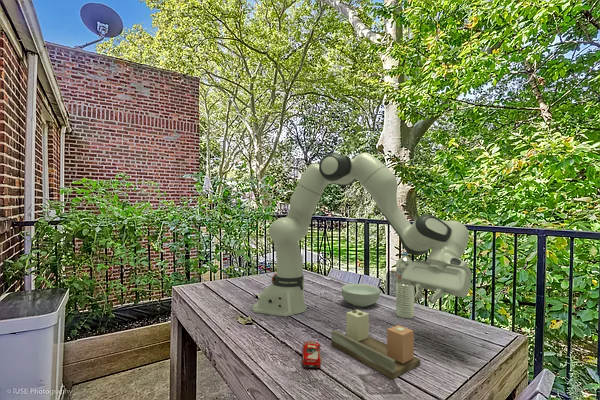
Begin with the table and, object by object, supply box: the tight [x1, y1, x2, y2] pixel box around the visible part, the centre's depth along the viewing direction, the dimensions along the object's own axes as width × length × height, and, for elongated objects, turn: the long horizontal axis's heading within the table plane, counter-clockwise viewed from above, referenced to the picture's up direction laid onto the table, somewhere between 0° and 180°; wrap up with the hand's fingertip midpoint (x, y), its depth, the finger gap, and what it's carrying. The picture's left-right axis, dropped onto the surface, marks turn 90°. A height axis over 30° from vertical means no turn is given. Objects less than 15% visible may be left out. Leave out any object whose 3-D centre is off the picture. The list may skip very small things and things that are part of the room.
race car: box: [301, 340, 322, 369], centre depth 87 cm, size 13×5×4 cm, turn 176°
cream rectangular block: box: [345, 309, 370, 341], centre depth 96 cm, size 5×5×8 cm
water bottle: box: [395, 252, 415, 320], centre depth 120 cm, size 7×7×25 cm
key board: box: [330, 329, 421, 380], centre depth 89 cm, size 12×23×4 cm, turn 36°
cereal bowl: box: [341, 283, 381, 308], centre depth 135 cm, size 17×17×7 cm
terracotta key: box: [386, 324, 415, 364], centre depth 83 cm, size 5×5×8 cm
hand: (424, 300), depth 91 cm, fingers open, 3 cm apart
